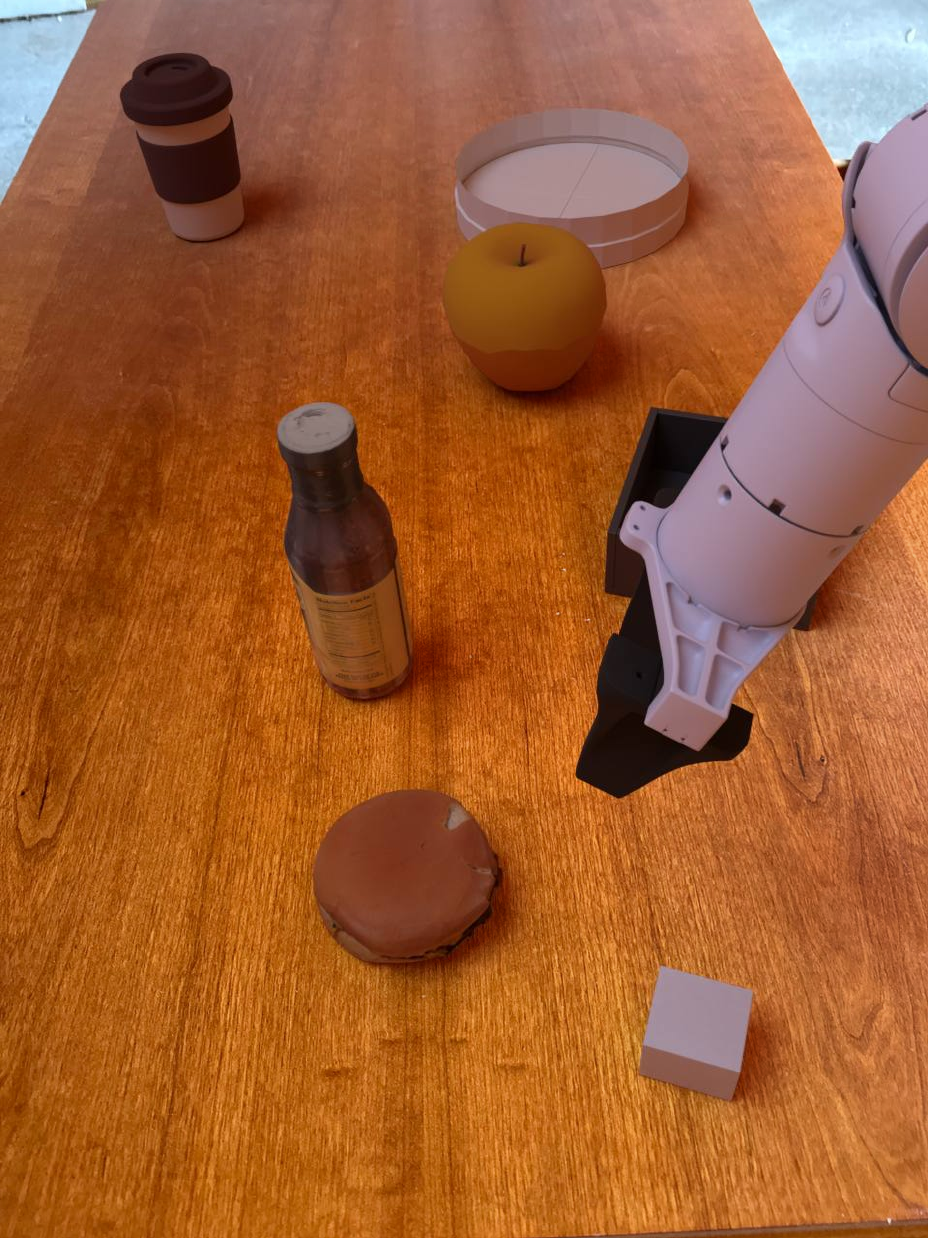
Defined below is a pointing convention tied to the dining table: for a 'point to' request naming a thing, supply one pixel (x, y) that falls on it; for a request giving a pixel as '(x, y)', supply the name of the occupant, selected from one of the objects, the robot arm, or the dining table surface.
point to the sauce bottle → (343, 556)
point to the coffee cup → (188, 142)
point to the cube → (696, 1033)
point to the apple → (525, 304)
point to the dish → (577, 179)
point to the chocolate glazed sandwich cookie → (405, 877)
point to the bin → (662, 486)
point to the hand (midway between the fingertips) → (619, 713)
